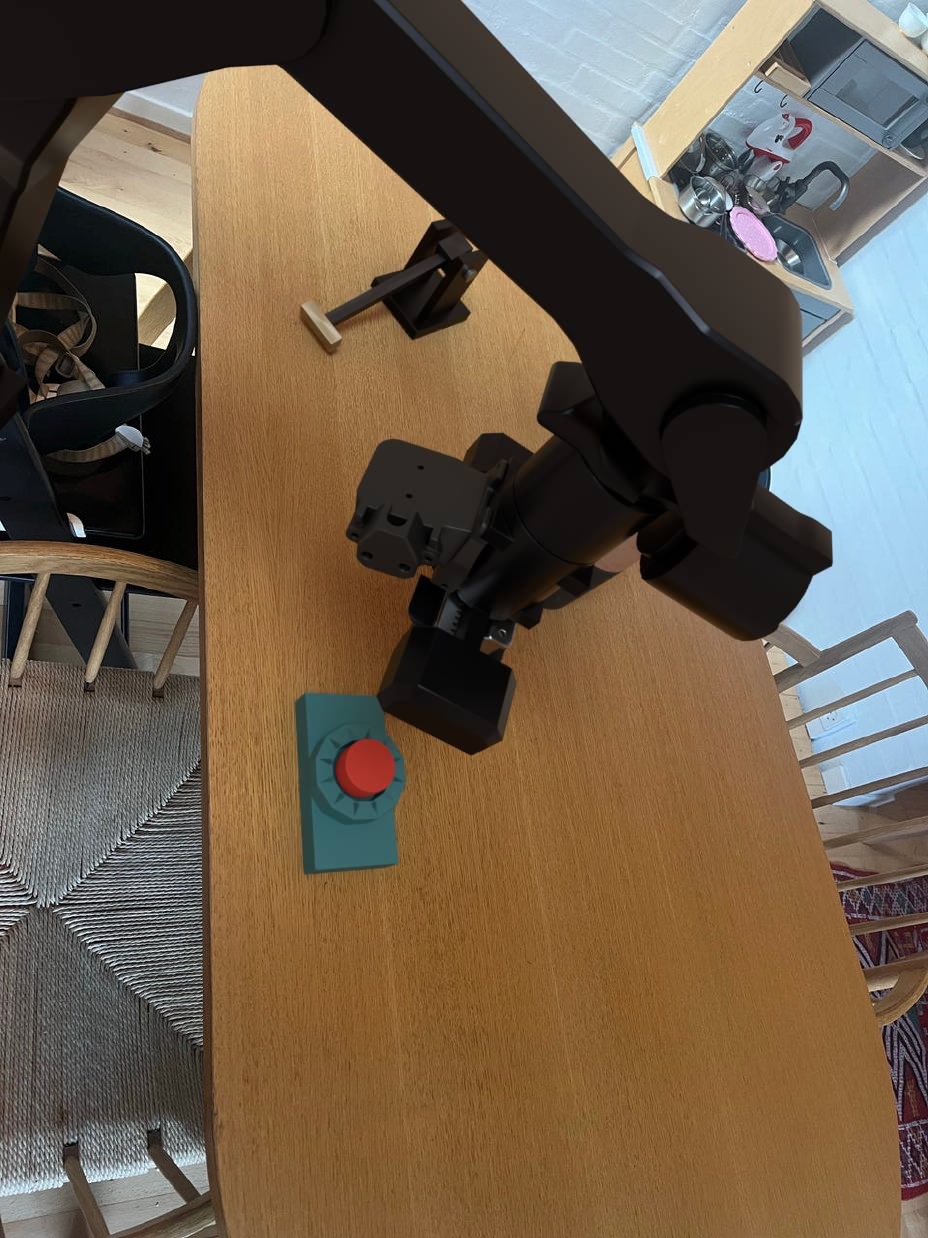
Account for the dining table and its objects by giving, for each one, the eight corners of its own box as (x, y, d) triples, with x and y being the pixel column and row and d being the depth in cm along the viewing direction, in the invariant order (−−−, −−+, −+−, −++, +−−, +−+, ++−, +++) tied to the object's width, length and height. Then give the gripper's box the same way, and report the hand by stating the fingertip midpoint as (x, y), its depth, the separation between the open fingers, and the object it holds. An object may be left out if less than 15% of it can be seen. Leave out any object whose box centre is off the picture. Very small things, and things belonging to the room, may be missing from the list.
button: (333, 745, 52) (343, 738, 51) (381, 745, 54) (392, 738, 52) (337, 799, 50) (347, 793, 49) (386, 797, 52) (398, 791, 51)
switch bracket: (412, 340, 78) (455, 276, 71) (369, 285, 78) (409, 216, 71) (465, 320, 84) (511, 259, 77) (426, 269, 84) (468, 203, 77)
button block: (291, 701, 56) (311, 683, 52) (373, 704, 59) (396, 687, 56) (299, 875, 51) (322, 866, 48) (388, 867, 54) (414, 859, 51)
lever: (328, 355, 71) (331, 341, 68) (298, 316, 71) (300, 300, 68) (473, 272, 77) (481, 257, 75) (446, 237, 77) (452, 220, 75)
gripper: (469, 298, 39) (350, 467, 51) (346, 577, 28) (233, 707, 40) (637, 419, 42) (488, 551, 54) (583, 709, 32) (413, 793, 44)
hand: (414, 637), depth 48 cm, fingers closed
